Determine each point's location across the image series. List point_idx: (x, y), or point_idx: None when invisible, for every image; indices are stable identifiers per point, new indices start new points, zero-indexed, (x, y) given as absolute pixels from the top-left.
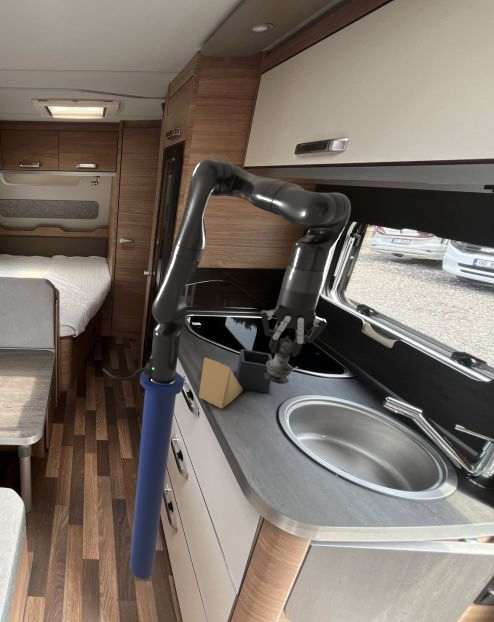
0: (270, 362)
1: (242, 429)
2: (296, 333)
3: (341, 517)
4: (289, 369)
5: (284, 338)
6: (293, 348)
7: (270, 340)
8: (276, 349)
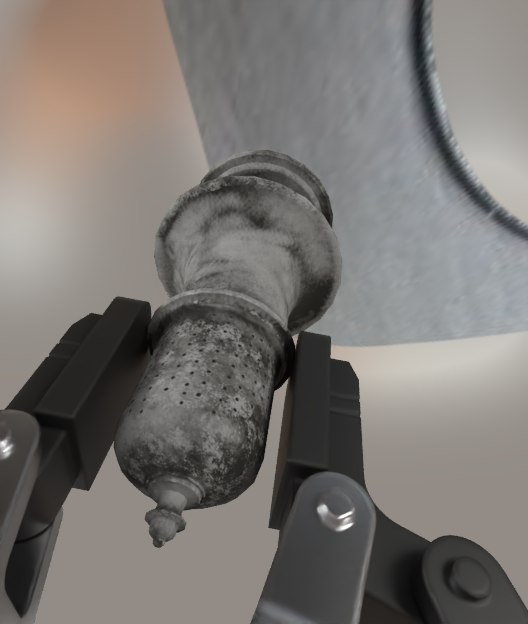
0: (177, 261)
1: (251, 51)
2: (270, 589)
3: (415, 330)
4: (302, 316)
5: (148, 478)
6: (282, 434)
7: (34, 373)
8: (160, 322)
